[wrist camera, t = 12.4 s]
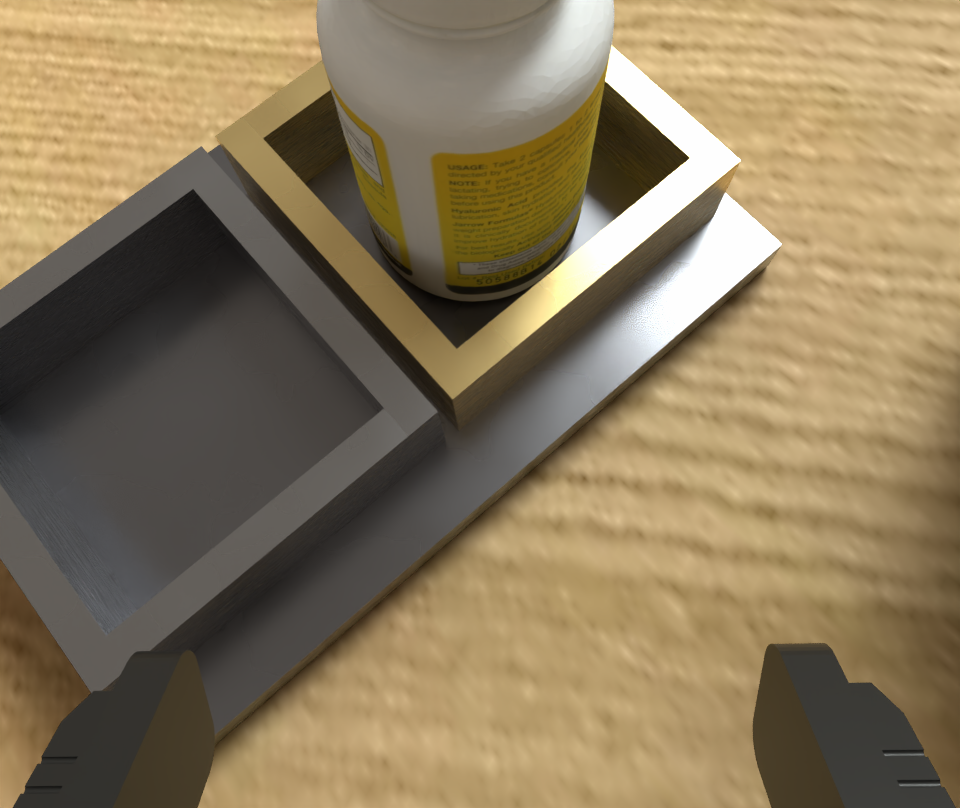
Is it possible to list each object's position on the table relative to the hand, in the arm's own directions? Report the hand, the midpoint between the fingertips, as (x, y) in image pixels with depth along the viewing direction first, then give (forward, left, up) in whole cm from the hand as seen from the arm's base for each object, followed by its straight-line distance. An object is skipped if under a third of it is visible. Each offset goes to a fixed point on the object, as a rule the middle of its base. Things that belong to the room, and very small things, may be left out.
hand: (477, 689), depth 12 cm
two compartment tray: (-3, -9, -8) cm, 12 cm away
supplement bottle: (-7, -9, -7) cm, 13 cm away
